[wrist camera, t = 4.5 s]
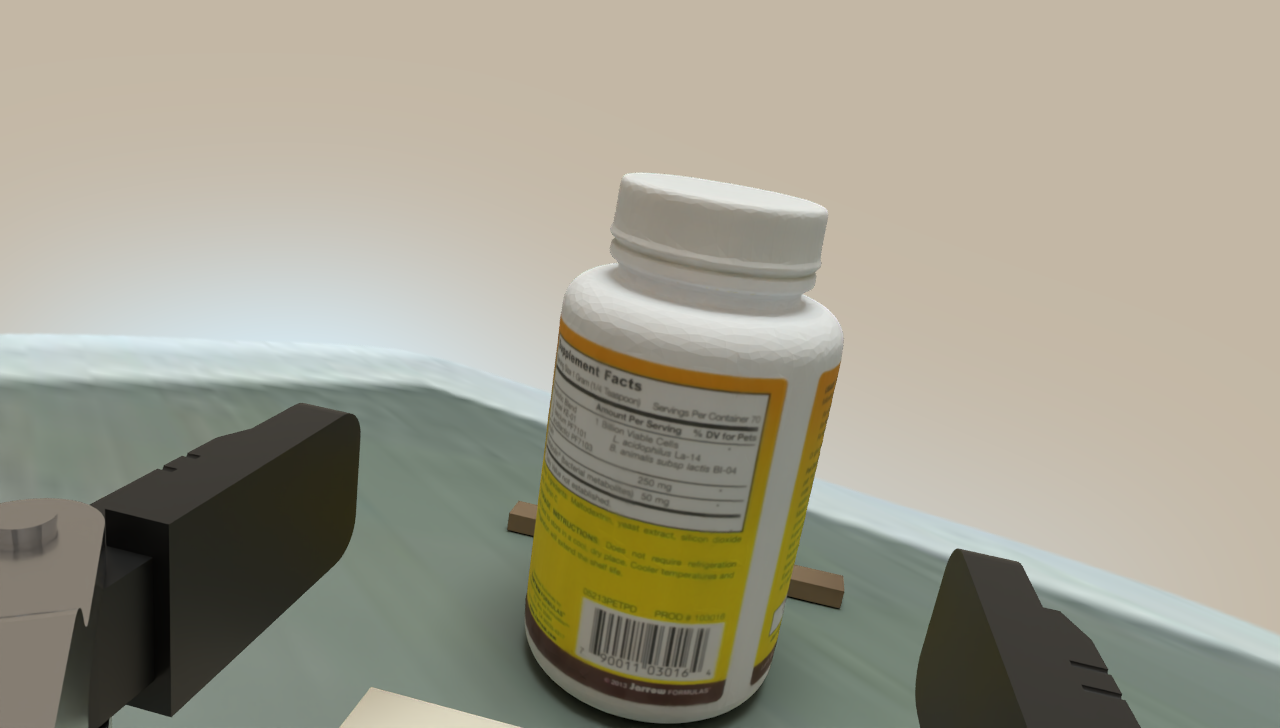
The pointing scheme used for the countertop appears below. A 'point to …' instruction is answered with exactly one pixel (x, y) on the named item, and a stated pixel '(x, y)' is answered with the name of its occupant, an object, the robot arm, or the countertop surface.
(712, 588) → the supplement bottle
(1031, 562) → the countertop surface
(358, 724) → the game track
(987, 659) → the robot arm
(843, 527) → the countertop surface
